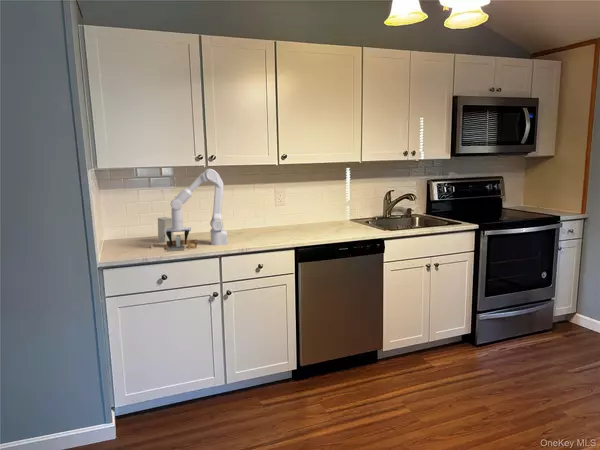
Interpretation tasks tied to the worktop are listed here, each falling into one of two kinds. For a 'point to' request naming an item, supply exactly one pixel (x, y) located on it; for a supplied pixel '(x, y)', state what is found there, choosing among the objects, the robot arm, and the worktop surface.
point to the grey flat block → (178, 241)
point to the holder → (175, 248)
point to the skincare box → (164, 224)
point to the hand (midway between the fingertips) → (178, 244)
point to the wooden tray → (182, 243)
